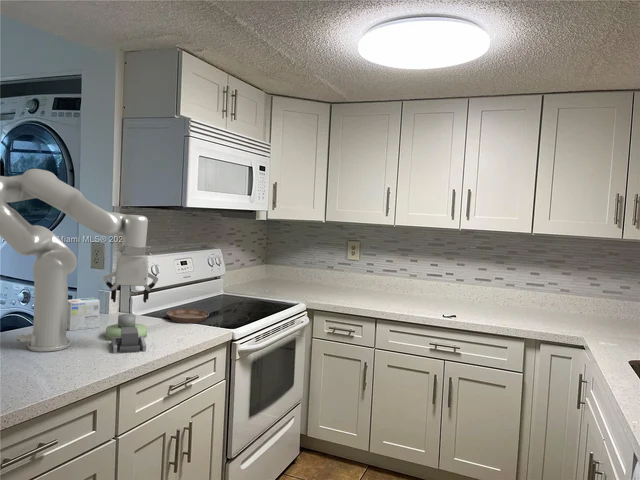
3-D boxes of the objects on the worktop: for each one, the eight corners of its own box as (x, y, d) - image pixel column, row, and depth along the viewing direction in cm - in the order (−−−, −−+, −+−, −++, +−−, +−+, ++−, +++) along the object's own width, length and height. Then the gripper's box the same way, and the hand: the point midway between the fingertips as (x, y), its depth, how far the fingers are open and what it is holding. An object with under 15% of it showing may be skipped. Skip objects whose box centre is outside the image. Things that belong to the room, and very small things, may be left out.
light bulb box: (93, 323, 184) (94, 296, 184) (99, 327, 180) (100, 300, 179) (63, 327, 177) (64, 299, 176) (69, 331, 172) (70, 302, 171)
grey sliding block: (119, 353, 152) (120, 335, 152) (118, 344, 161) (119, 327, 161) (139, 352, 155) (140, 334, 154) (137, 343, 164) (138, 326, 163)
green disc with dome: (106, 353, 151) (107, 332, 150) (105, 331, 175) (106, 313, 174) (152, 350, 157) (153, 330, 156) (144, 330, 181) (145, 312, 180)
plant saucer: (196, 313, 215) (197, 307, 215) (216, 322, 202) (216, 315, 202) (159, 317, 203) (160, 310, 203) (177, 326, 190) (178, 319, 190)
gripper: (105, 251, 149) (101, 303, 150) (161, 254, 157) (157, 304, 158) (105, 248, 156) (101, 299, 157) (159, 251, 164) (155, 299, 165)
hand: (129, 301), depth 158 cm, fingers open, 9 cm apart
